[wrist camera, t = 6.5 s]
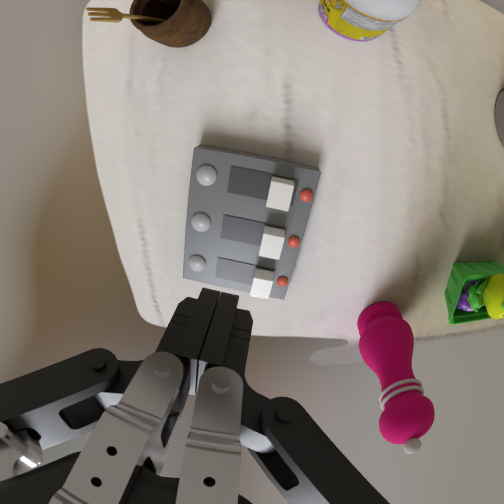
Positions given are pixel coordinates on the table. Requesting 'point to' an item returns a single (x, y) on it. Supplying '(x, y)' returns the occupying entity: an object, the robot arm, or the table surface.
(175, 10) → the utensil holder
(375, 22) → the supplement bottle
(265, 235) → the middle switch
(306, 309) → the table surface
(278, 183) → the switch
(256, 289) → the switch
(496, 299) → the fruit basket
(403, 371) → the pepper mill
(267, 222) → the switch panel
